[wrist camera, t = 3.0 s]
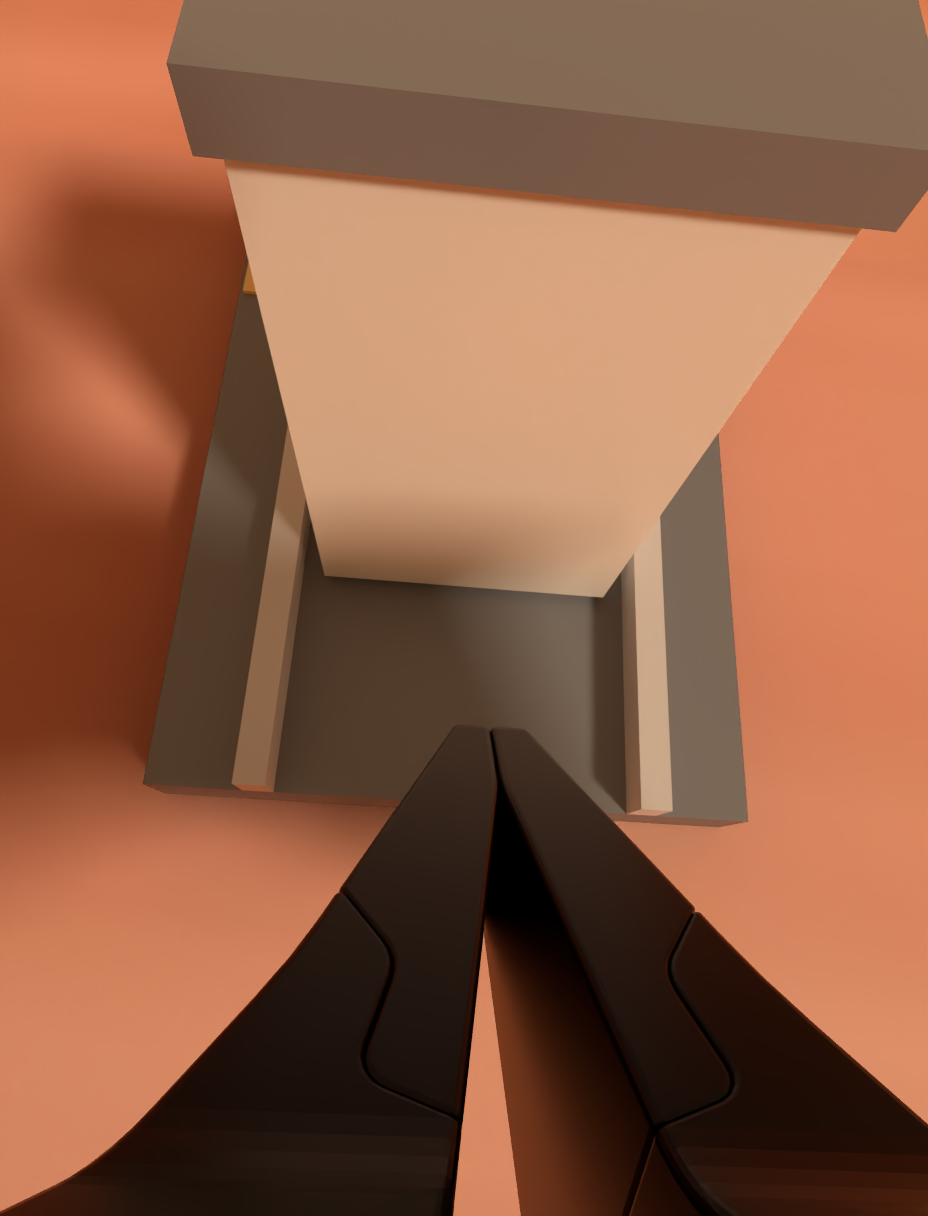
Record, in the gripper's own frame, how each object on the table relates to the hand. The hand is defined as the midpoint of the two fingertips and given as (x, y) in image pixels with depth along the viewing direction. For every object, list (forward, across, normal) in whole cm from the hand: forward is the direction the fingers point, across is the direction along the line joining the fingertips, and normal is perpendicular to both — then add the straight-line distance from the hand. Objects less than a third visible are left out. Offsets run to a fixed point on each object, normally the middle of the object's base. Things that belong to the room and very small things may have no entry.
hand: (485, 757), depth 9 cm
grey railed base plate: (+11, 0, 0) cm, 11 cm away
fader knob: (+9, 0, 0) cm, 9 cm away
